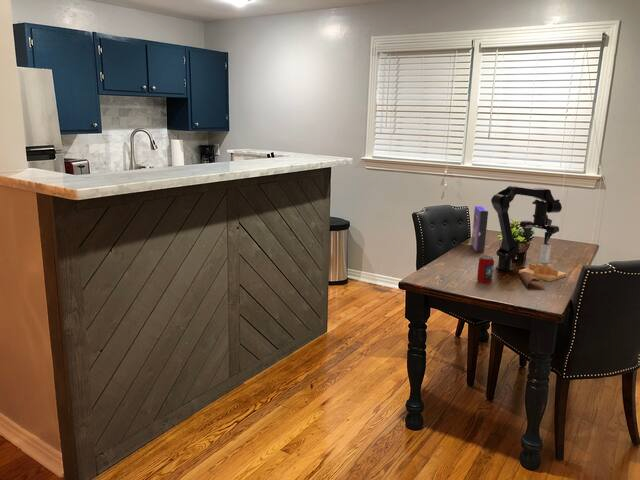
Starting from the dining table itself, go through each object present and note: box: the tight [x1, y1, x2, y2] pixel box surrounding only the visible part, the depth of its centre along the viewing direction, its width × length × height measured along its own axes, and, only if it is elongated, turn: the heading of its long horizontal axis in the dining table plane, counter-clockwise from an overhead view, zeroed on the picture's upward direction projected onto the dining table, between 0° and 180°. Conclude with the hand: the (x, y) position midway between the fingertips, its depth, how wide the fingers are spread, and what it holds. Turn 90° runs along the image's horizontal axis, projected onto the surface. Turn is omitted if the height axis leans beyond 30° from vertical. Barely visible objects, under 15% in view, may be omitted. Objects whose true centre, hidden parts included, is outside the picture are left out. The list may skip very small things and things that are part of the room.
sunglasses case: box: [519, 272, 546, 291], centre depth 239 cm, size 18×7×7 cm, turn 169°
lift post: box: [538, 242, 552, 264], centre depth 252 cm, size 3×3×10 cm
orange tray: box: [518, 261, 568, 282], centre depth 254 cm, size 16×16×6 cm
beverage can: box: [476, 255, 495, 285], centre depth 238 cm, size 7×7×12 cm
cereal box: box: [470, 205, 489, 252], centre depth 303 cm, size 17×5×24 cm, turn 172°
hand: (536, 242), depth 265 cm, fingers open, 9 cm apart
